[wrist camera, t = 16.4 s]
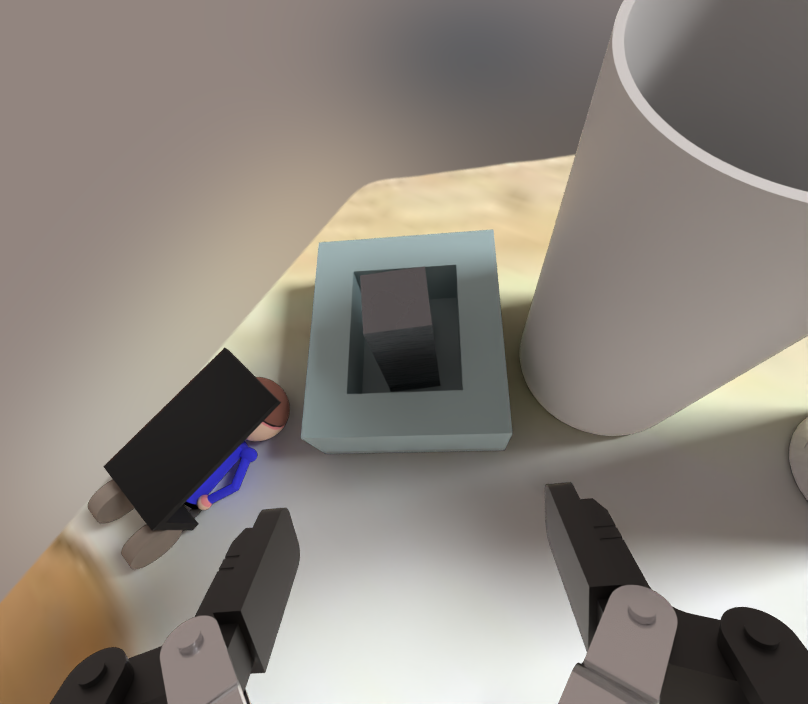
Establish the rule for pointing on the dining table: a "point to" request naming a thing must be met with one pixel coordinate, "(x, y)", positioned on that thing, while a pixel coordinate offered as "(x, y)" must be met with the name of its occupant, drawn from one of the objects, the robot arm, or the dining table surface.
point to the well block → (454, 338)
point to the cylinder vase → (678, 216)
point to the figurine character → (189, 455)
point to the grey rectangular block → (400, 327)
